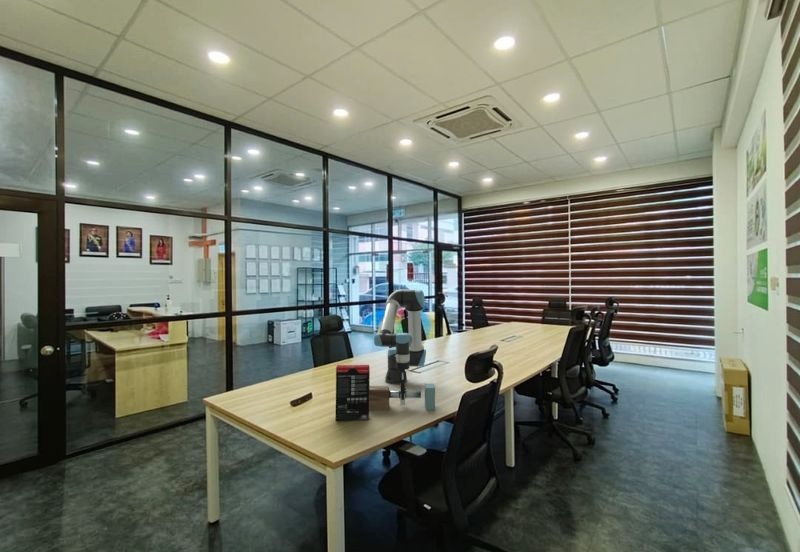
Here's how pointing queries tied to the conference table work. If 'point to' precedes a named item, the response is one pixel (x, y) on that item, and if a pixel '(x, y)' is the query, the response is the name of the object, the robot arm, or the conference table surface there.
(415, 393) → the tube
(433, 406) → the teal rectangular block
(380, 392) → the brown wooden block
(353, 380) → the graphics card box
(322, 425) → the conference table surface
